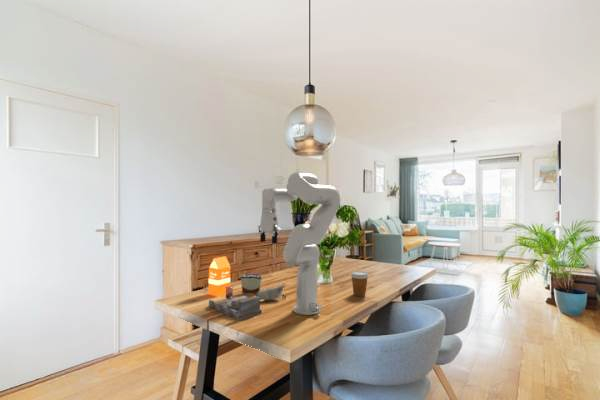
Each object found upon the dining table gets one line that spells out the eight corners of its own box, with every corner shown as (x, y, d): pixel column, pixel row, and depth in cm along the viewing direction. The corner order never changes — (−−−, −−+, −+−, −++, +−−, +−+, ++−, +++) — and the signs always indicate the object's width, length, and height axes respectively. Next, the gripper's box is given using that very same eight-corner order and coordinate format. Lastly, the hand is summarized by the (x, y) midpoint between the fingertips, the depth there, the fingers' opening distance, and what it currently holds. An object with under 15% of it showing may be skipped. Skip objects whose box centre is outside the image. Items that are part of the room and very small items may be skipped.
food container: (264, 291, 172) (264, 273, 172) (261, 294, 166) (261, 276, 166) (242, 290, 173) (243, 272, 173) (239, 293, 167) (239, 275, 167)
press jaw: (247, 305, 142) (247, 288, 142) (231, 310, 136) (231, 292, 136) (235, 300, 149) (235, 284, 149) (218, 305, 143) (219, 288, 143)
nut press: (261, 313, 137) (261, 296, 137) (239, 320, 129) (239, 302, 129) (230, 300, 155) (230, 286, 155) (208, 306, 146) (209, 290, 146)
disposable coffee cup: (349, 296, 164) (349, 274, 164) (351, 291, 173) (352, 270, 173) (367, 298, 161) (367, 275, 161) (368, 293, 170) (369, 271, 170)
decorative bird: (254, 301, 155) (254, 286, 155) (283, 297, 162) (283, 283, 162) (257, 304, 150) (257, 289, 150) (287, 300, 157) (287, 285, 157)
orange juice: (230, 292, 168) (230, 256, 169) (217, 296, 161) (218, 259, 161) (220, 290, 173) (221, 255, 173) (208, 294, 166) (208, 257, 166)
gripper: (284, 211, 164) (284, 243, 163) (264, 210, 176) (263, 240, 175) (274, 211, 158) (274, 244, 158) (253, 211, 170) (253, 241, 170)
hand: (268, 242), depth 167 cm, fingers open, 9 cm apart
